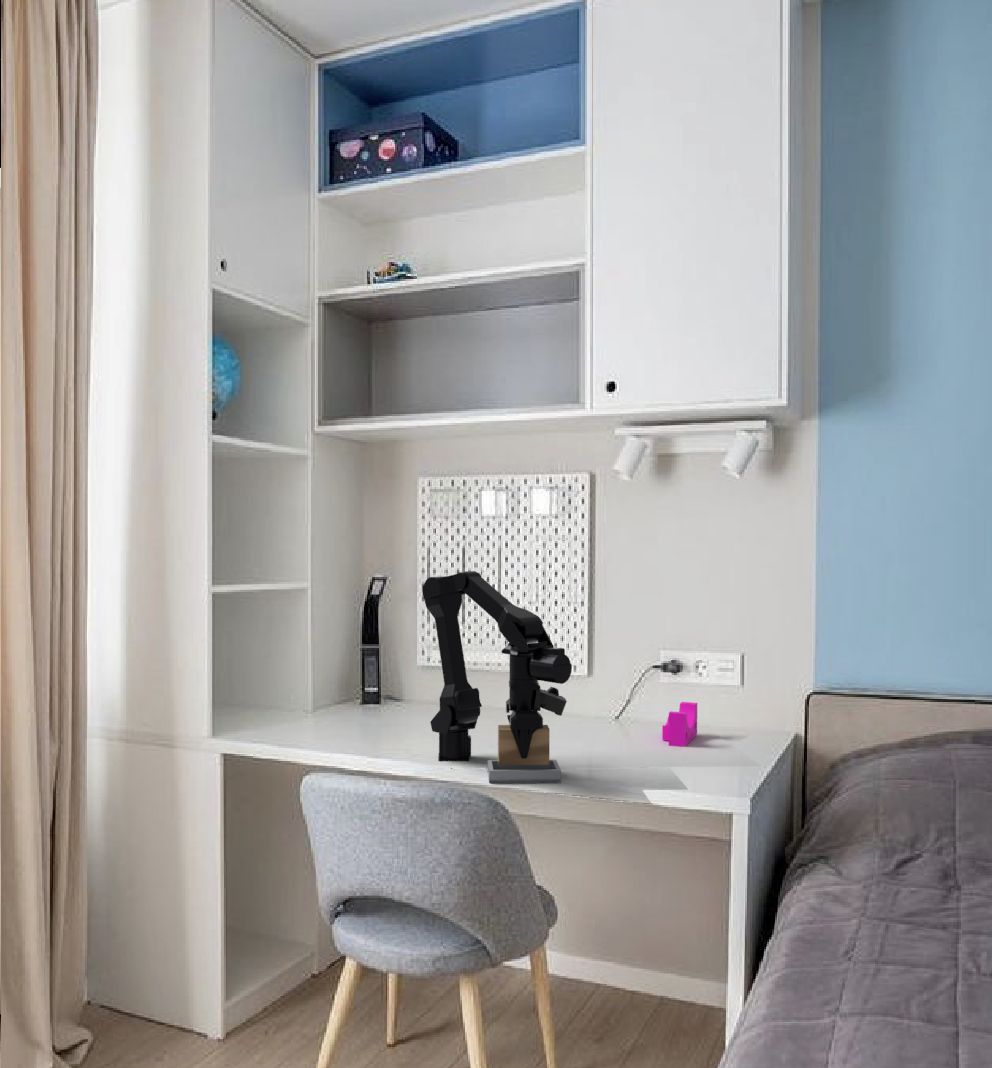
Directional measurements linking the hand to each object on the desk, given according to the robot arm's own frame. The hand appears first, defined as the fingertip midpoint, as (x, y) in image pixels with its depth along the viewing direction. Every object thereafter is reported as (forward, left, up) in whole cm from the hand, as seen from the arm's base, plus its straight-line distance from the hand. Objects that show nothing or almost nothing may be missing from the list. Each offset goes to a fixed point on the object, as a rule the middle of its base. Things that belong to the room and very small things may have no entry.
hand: (523, 755), depth 197 cm
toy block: (+39, +34, -5) cm, 52 cm away
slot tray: (0, 0, -4) cm, 4 cm away
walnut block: (0, 0, -1) cm, 1 cm away
